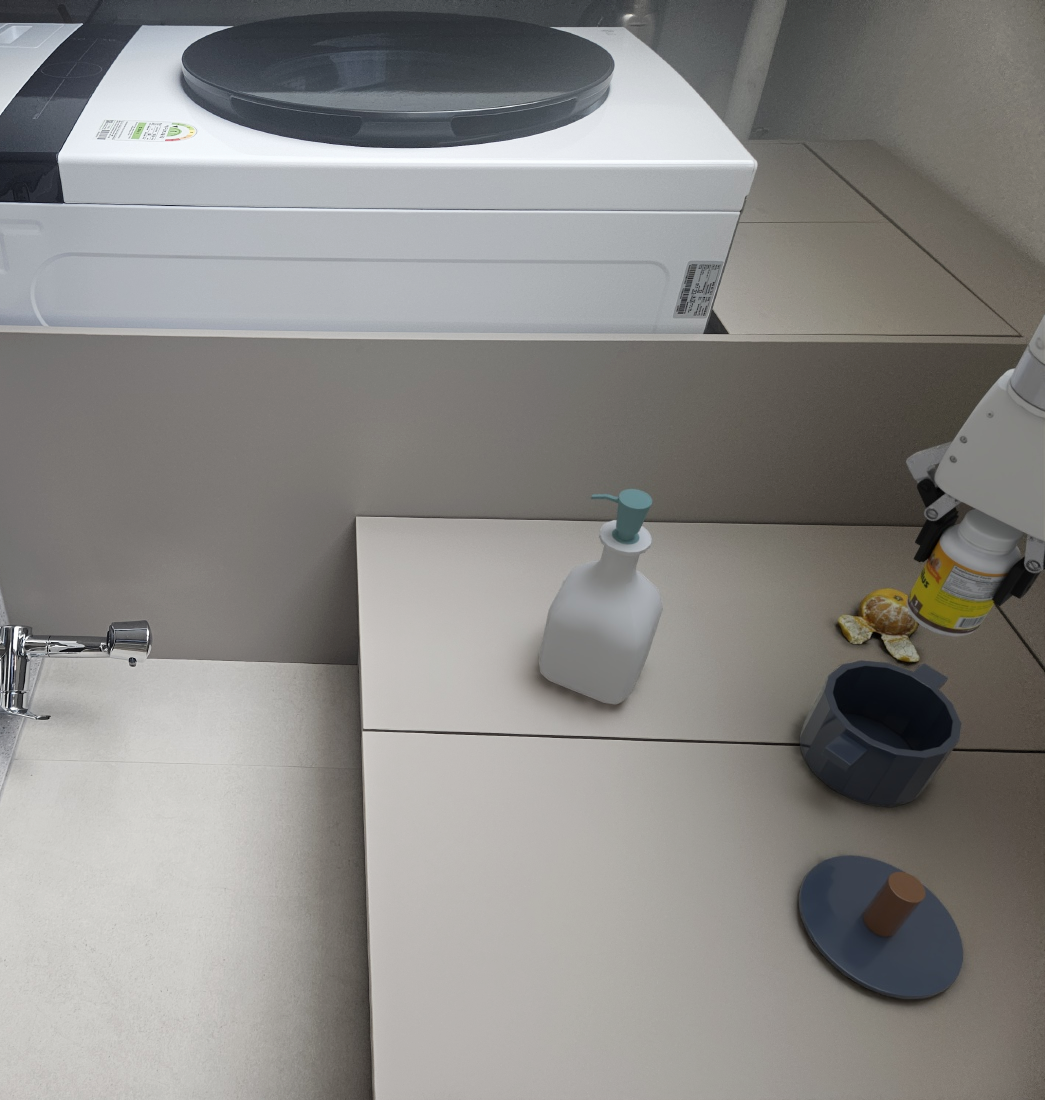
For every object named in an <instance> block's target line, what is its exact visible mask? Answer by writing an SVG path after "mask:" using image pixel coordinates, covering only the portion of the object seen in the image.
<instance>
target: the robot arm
mask: <svg viewBox="0 0 1045 1100" xmlns="http://www.w3.org/2000/svg"><path fill="white" fill-rule="evenodd" d="M905 463H906V466H907V468H908V471H909V472H910V474H911V475H912V478H913V479H914V481H916V490H917V491H918V495H919V496H920V498H921V501H922V503H923V505H924V507H925V509H924V511H923V515H924V518H926V520H925V521H924V524H923V526H922V527H921V529H920V531H919V533H918V534H917V537H916V539H915V541H914V543H915V544H916V545H918V546H919V547H918V548H917V551H916V553H915V554H914V557H913V561H916V562H918V563H925V562H927V561H928V558H929V557H930V555H931V553H932V551H933V549H934V548H935V546H936V544H937V542H938V540H939V538H940V537H941V535H942V534H943V532H944V531H945V530H946V529H947V528H949V527H951V526H953V525H956V524H957V521H958V519H959V517H960V515H959V513H960V511H958V510H957V508H956V507H957V506H959V505H960V504H962V503H963V504H965V505H967V506H969V507H971V508H973V509H977V510H979V511H981V512H983V513H985V514H987V515H989V516H991V517H993V518H995V519H997V520H999V521H1001V522H1003V523H1006V524H1008V525H1010V526H1012V527H1014V528H1016V529H1018V530H1020V531H1022V532H1023V534H1026V542H1025V551H1024V552H1025V553H1024V556H1023V557H1021V560H1019V561H1018V562H1017V563H1016V564H1014V565H1013V567H1012V568H1011V569H1010V571H1009V573H1008V574H1007V576H1006V577H1005V579H1004V581H1003V582H1002V584H1001V585H1000V587H999V589H998V590H997V592H996V593H995V595H994V596H993V598H992V600H993V603H994V605H996V606H998V607H1001V606H1003V605H1004V604H1005V603H1006V602H1007V601H1009V599H1011V598H1012V597H1015V598H1017V599H1019V600H1021V599H1022V598H1023V597H1024V596H1025V595H1026V594H1027V593H1028V592H1029V591H1030V589H1031V588H1032V586H1033V585H1034V583H1035V582H1036V580H1038V577H1039V576H1040V574H1041V573H1042V571H1045V314H1043V317H1042V319H1041V321H1040V322H1039V324H1038V326H1037V328H1036V330H1035V332H1034V334H1033V336H1032V337H1031V339H1030V341H1029V342H1028V343H1027V346H1026V348H1025V349H1024V351H1023V353H1022V355H1021V357H1020V359H1019V361H1018V363H1017V365H1016V366H1015V368H1010V369H1007V370H1006V371H1005V372H1004V373H1003V374H1002V375H1000V377H999V378H998V379H997V380H996V381H995V382H994V384H992V386H991V387H990V388H989V390H988V391H987V392H986V393H985V394H984V395H983V397H982V398H981V399H980V401H979V402H978V404H977V405H976V406H975V408H974V409H973V410H972V412H971V413H970V415H969V416H968V417H967V419H966V421H965V422H964V423H963V425H962V427H961V428H960V429H959V431H958V432H957V434H956V435H955V437H954V438H953V440H951V441H948V442H945V443H941V444H938V445H935V446H931V447H928V448H925V449H923V450H919V451H917V452H915V453H913V454H912V455H910V456H908V457H907V458H906V460H905ZM937 465H938V466H937ZM936 466H937V468H936Z"/></svg>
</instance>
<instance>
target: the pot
mask: <svg viewBox="0 0 1045 1100" xmlns="http://www.w3.org/2000/svg"><path fill="white" fill-rule="evenodd" d="M948 680H949V677H948V676H946V675H944V674H942V673H941V672H939V671H938V670H936V669H935V668H933V667H931V666H930V665H928V664H926V663H925V662H923V663H922V664H920V665H919V666H918V667H916V669H914V670H910V669H907V668H903V667H901V666H899V665H895V664H893V663H890V662H884V661H874V660H865V659H863V660H862V659H861V660H857V661H852V662H851V661H850V662H847V663H842V664H840V666H838V667H837V668H836V669H834V670H833V671H832V672H831V673H830V674H828V676H827V677H826V679H825V681H824V683H823V684H822V687H821V689H820V691H819V693H818V695H817V697H816V699H815V701H814V702H813V705H812V706H811V708H810V710H809V712H808V713H807V716H806V717H805V720H804V722H803V726H802V728H801V730H800V733H799V747H800V751H801V754H802V757H803V759H804V761H805V763H806V764H807V766H808V767H809V769H810V770H811V771H812V772H813V773H814V775H815V776H816V777H818V778H819V779H820V780H821V782H823V783H824V784H826V785H827V786H828V787H829V788H830V789H832V790H834V791H835V792H837V793H839V794H841V795H842V796H845V797H846V798H848V799H851V800H853V801H856V802H859V803H861V804H866V805H869V806H876V807H898V806H903V805H905V804H909V803H910V802H912V801H914V800H915V799H917V798H918V797H919V796H920V795H921V794H922V793H923V791H925V790H926V788H927V787H928V786H929V785H930V783H931V782H932V780H933V779H934V778H935V776H936V775H937V773H938V772H939V771H940V769H941V768H942V766H943V765H944V764H945V762H946V760H948V758H949V756H950V755H951V753H952V752H953V750H954V749H955V747H956V746H957V745H958V743H959V742H960V740H961V731H962V720H961V719H960V716H959V714H958V712H957V709H956V708H955V705H954V704H953V702H952V701H951V700H950V699H949V697H947V696H946V695H945V694H944V693H943V692H942V691H941V690H940V689H942V687H944V686H945V684H946V682H947V681H948Z"/></svg>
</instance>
